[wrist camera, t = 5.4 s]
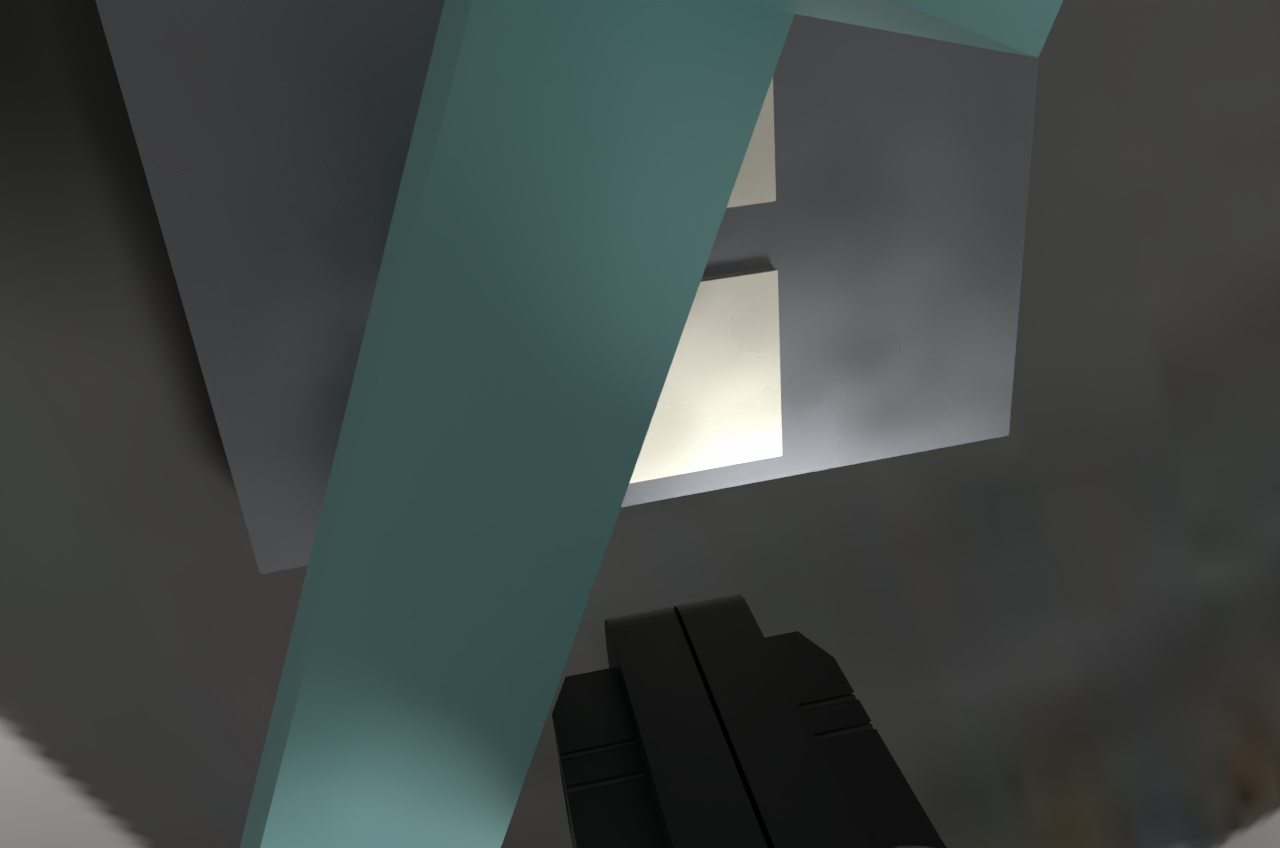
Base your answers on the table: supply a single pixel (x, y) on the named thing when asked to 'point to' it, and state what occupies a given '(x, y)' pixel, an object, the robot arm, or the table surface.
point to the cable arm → (518, 389)
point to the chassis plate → (727, 294)
